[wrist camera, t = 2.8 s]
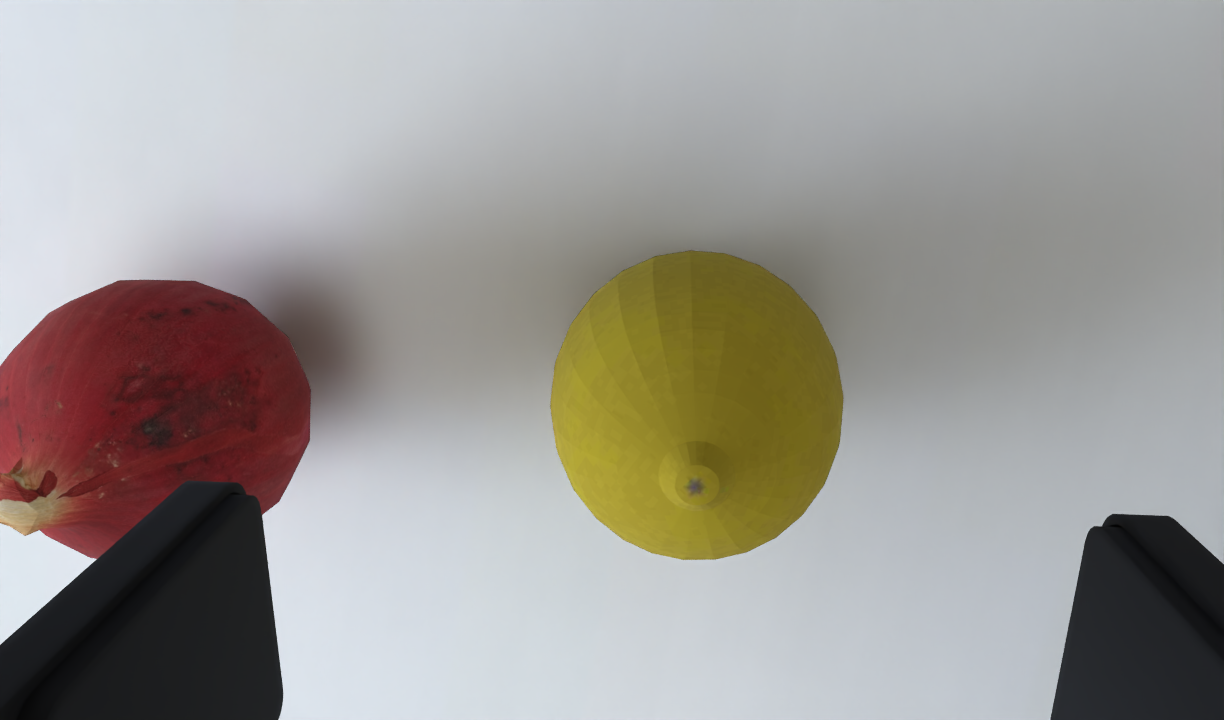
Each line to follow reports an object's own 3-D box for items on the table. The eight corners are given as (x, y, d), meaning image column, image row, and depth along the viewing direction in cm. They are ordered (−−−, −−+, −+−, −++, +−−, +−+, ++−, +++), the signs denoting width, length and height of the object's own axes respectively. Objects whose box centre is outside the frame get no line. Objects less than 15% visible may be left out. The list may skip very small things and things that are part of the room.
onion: (294, 212, 21) (80, 293, 14) (396, 430, 23) (254, 611, 15) (86, 294, 22) (-221, 411, 15) (197, 497, 24) (-30, 698, 16)
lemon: (618, 188, 21) (579, 260, 13) (850, 268, 21) (945, 385, 13) (546, 404, 22) (475, 579, 15) (760, 477, 23) (799, 687, 15)
